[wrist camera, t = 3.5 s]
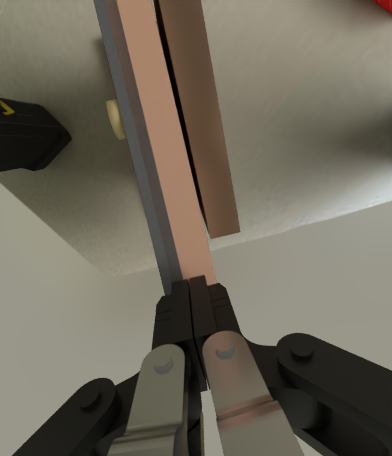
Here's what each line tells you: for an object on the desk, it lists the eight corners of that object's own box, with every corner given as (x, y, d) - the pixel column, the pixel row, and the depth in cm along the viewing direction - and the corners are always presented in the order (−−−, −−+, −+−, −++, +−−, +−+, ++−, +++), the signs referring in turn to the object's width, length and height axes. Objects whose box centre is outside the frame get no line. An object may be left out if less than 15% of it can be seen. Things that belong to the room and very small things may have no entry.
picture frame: (161, 67, 27) (115, -153, 11) (208, 265, 28) (227, 328, 12) (133, 74, 27) (46, -136, 11) (181, 272, 28) (163, 343, 12)
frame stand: (182, 20, 32) (197, -249, 10) (217, 201, 40) (269, 278, 18) (104, 38, 32) (-55, -189, 10) (156, 215, 40) (133, 310, 18)
